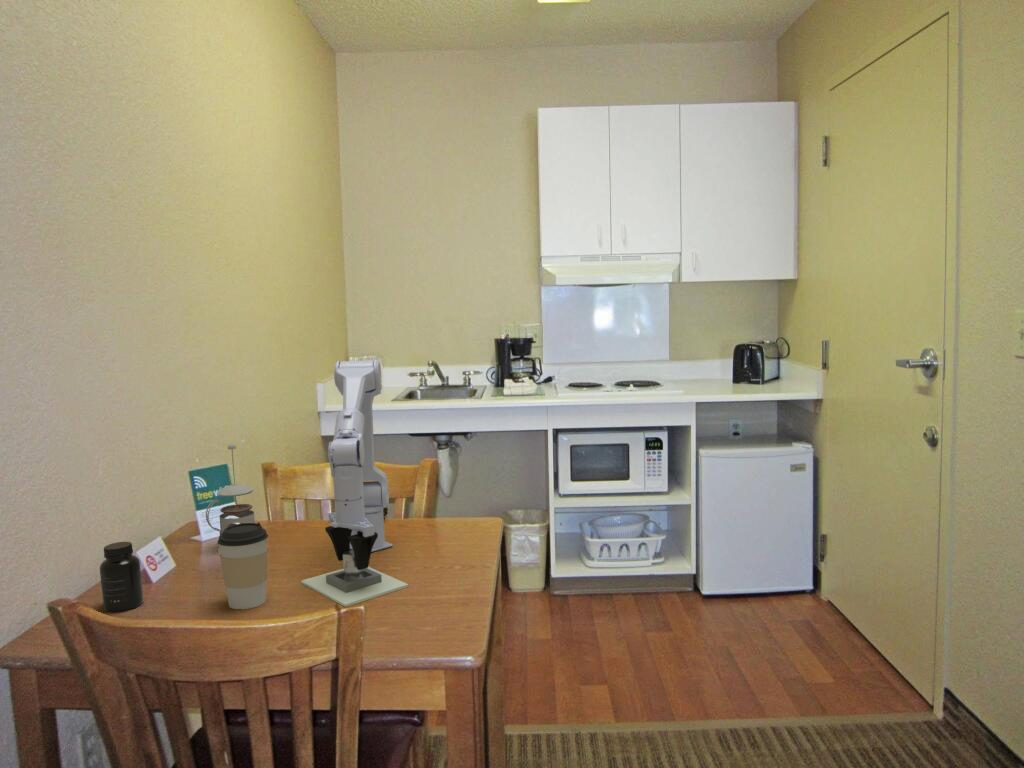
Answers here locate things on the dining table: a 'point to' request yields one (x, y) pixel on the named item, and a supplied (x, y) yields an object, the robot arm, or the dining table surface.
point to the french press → (233, 510)
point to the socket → (354, 586)
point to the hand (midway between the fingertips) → (352, 564)
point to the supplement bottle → (120, 578)
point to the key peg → (351, 567)
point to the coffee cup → (244, 564)
